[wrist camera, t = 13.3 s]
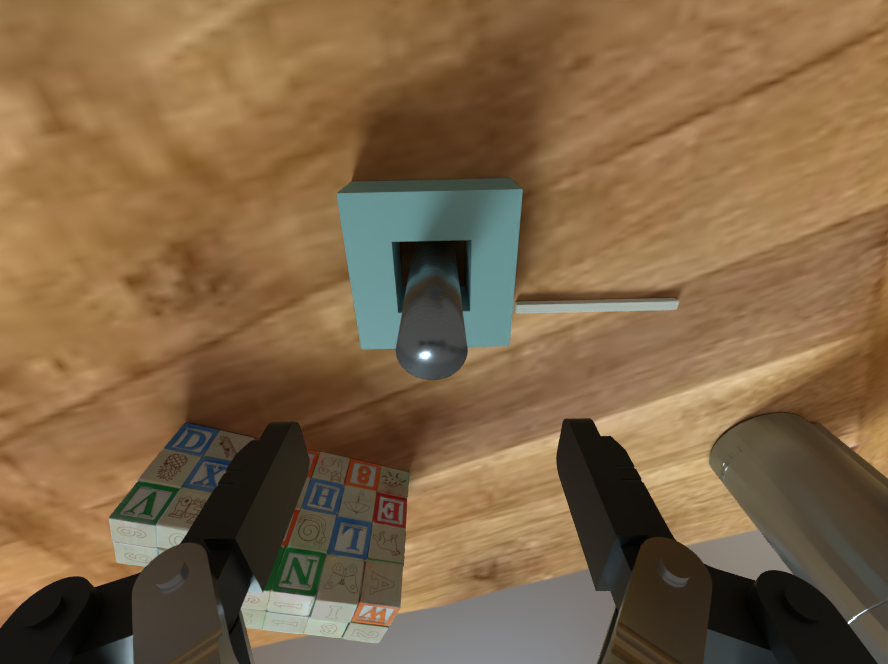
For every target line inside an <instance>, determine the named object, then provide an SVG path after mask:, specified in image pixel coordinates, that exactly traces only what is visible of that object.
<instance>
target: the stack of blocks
mask: <svg viewBox="0 0 888 664" xmlns="http://www.w3.org/2000/svg"><path fill="white" fill-rule="evenodd" d="M251 440H259V439H254V438H253V437H248V436H244V435H239V434H235V433H230V432H226V431H220V430H217V429H213V428H208V427H204V426H199V425H194V424H190V423H184V424H183V425H182V427H181V428H180V429H179V430H178V432H177V433H176V434H175V435H174V436H173V438H172V439H171V440H170V441H169V442H168V444H167V445H166V446H165V447H164V449H163V450H162V451H161V452H160V453H159V454H158V455H157V457H156V458H155V459H154V460H153V461H152V463H151V464H150V465H149V466H148V468H147V469H146V470H145V471H144V473H143V474H142V475H141V476H140V478H139V479H138V482H137V483H136V484H135V485H134V487H133V488H132V489H131V490H130V491H129V493H128V494H127V495H126V496H125V498H124V499H123V500H122V502H121V503H120V504H119V505H118V507H117V508H116V509H115V510H114V512H113V513H112V514H111V515H110V517H109V523H110V529H111V537H112V541H114V550H115V556H116V562H117V563H121V564H129V565H137V566H144V567H146V566H147V565H148V564H149V563H150V562H151V561H152V560H153V559H154V558H155V557H157V556H158V555H159V554H161V553H162V552H164V551H166V550H167V549H169V548H171V547H173V546H176V545H179V544H180V543H181V541H182V540H183V539H184V537H185V535H186V534H187V532H188V531H189V529H190V527H191V526H192V524H193V522H194V521H195V519H196V518H197V516H198V514H199V513H200V511H201V510H202V508H203V506H204V505H205V503H206V501H207V500H208V498H209V497H210V495H211V493H212V492H213V490H214V488H215V487H217V486H218V482H219V480H220V479H221V477H222V476H223V474H224V473H226V469H227V467H228V466H229V464H230V463H231V461H232V459H233V458H234V456H235V455H236V453H238V452H239V451H240V450H241V449H242V448H243V447H244V446H245V445H247V444H248V443H249V442H250V441H251ZM307 453H308V456H309V471H308V475H307V479H306V481H305V484H304V487H303V489H302V492H301V494H300V497H299V500H298V502H297V505H296V508H295V510H294V513H293V516H292V518H291V521H290V523H289V526H288V529H287V531H286V534H285V537H284V539H283V542H282V545H281V547H280V550H279V552H278V555H277V558H276V560H275V563H274V566H273V568H272V571H271V574H270V576H269V579H268V581H267V584H266V587H265V589H264V592H263V593H247V595H246V597H245V600H244V602H243V604H242V607H241V611H242V614H243V618H244V622H245V626H246V628H253V629H264V630H269V631H276V632H286V633H294V634H301V633H303V634H308V635H317V636H326V637H334V638H341V637H342V638H343V639H347V640H354V641H363V642H370V643H379V642H380V640H381V639H382V637H383V635H384V634H385V632H386V631H387V630H388V628H389V625H390V624H391V622H392V621H393V619H394V618H395V616H396V614H397V613H398V611H399V609H400V604H401V589H402V572H403V566H404V552H405V537H406V531H405V529H406V513H407V497H408V485H409V472H405V471H401V470H396V469H392V468H388V467H383V466H380V465H377V464H373V463H368V462H364V461H360V460H355V459H350V458H346V457H343V456H338V455H334V454H329V453H325V452H316V451H311V450H307Z"/></svg>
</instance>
